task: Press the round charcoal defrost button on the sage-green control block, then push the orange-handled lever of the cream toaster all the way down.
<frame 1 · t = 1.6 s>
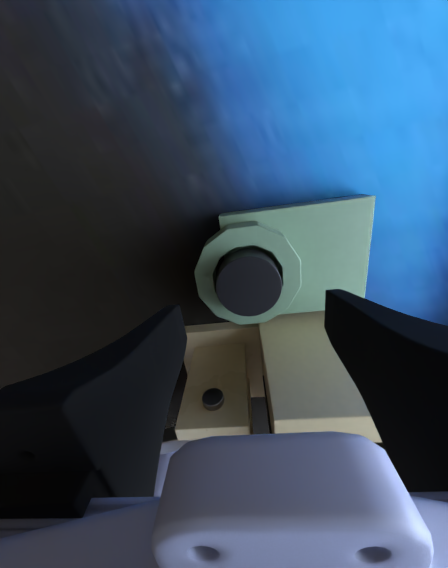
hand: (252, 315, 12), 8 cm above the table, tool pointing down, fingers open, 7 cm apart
lever bracket: (224, 358, 23), on the table
control block: (290, 257, 19), on the table
defrost button: (248, 282, 15), point 4 cm above the table, slide at 0.1 cm
toaster: (315, 351, 22), on the table
toaster lever: (160, 442, 16), point 8 cm above the table, hinge at 12.0°
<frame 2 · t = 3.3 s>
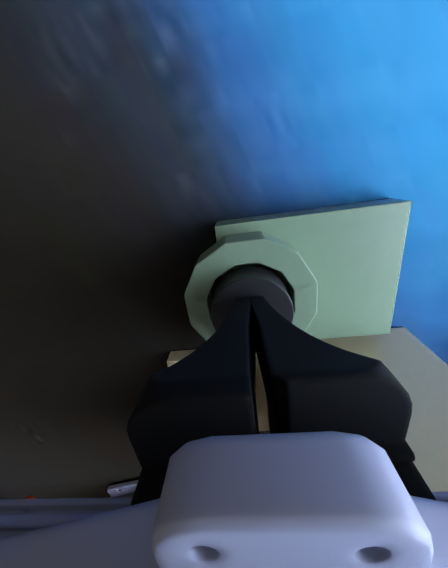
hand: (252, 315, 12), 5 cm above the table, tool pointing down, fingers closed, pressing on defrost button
lever bracket: (222, 386, 20), on the table
control block: (301, 273, 15), on the table
defrost button: (251, 307, 12), point 4 cm above the table, slide at -0.1 cm, touching gripper
toaster: (328, 379, 19), on the table
toaster lever: (142, 505, 13), point 8 cm above the table, hinge at 12.0°
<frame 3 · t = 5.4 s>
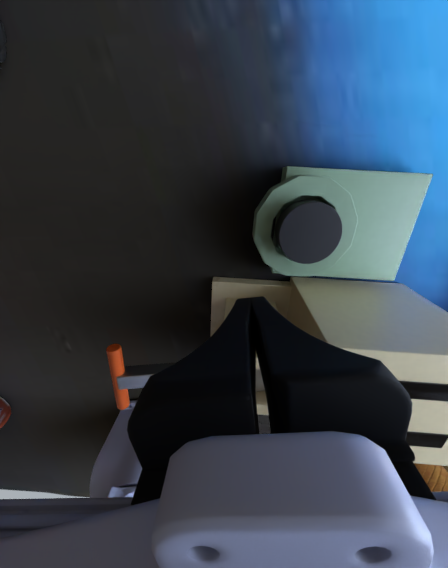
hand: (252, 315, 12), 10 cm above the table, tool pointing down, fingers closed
lever bracket: (247, 316, 24), on the table
disposable coffee cup: (386, 439, 30), on the table
control block: (336, 224, 20), on the table
defrost button: (306, 231, 16), point 4 cm above the table, slide at 0.1 cm
toaster: (334, 322, 23), on the table
toaster lever: (195, 371, 16), point 8 cm above the table, hinge at 12.0°
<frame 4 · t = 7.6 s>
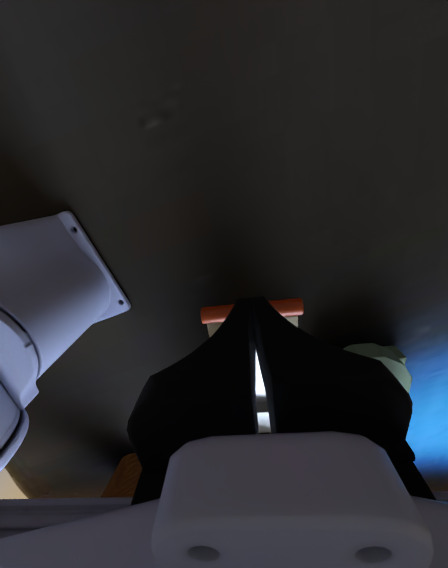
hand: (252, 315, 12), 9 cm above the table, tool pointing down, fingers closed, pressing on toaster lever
disposable coffee cup: (143, 465, 33), on the table
control block: (347, 387, 25), on the table
toaster lever: (257, 371, 15), point 8 cm above the table, hinge at 11.2°, touching gripper
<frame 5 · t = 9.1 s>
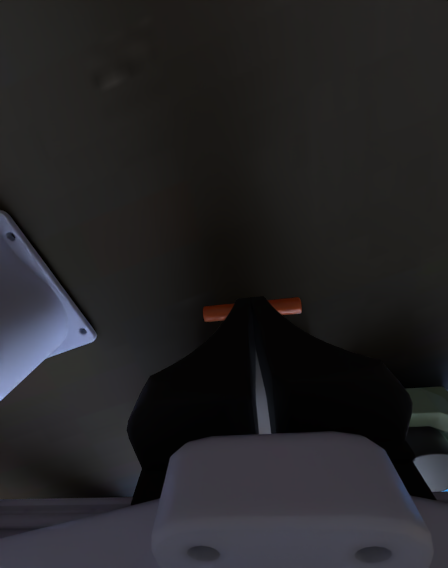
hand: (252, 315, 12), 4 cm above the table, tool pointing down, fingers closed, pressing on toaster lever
control block: (377, 433, 20), on the table
defrost button: (418, 459, 15), point 4 cm above the table, slide at 0.1 cm
toaster lever: (261, 408, 12), point 5 cm above the table, hinge at -28.0°, touching gripper
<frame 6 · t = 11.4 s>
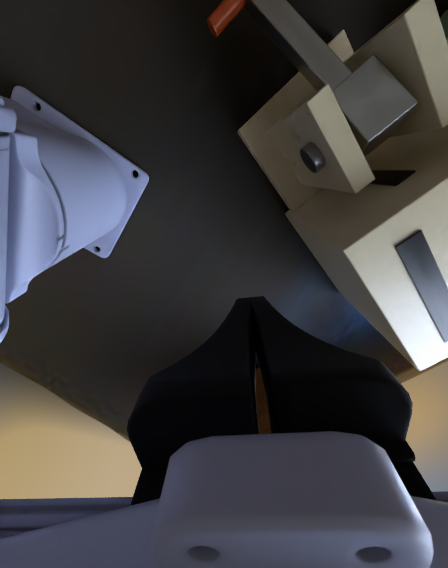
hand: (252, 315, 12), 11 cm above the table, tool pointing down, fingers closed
lever bracket: (309, 135, 17), on the table
disposable coffee cup: (270, 382, 29), on the table
toaster: (359, 224, 20), on the table
toaster lever: (309, 55, 12), point 5 cm above the table, hinge at -28.0°
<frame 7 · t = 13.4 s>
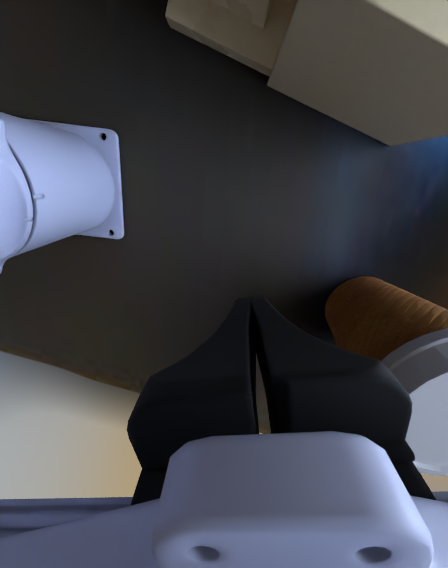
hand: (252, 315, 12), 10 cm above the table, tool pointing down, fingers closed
disposable coffee cup: (357, 305, 23), on the table
toaster: (369, 37, 15), on the table
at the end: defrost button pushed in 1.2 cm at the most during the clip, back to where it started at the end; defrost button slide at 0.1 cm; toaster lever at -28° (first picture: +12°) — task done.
